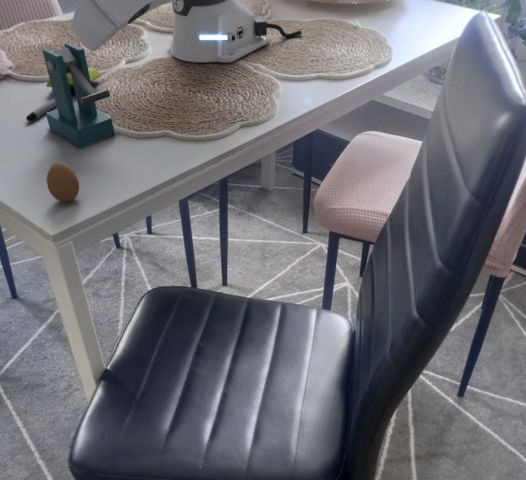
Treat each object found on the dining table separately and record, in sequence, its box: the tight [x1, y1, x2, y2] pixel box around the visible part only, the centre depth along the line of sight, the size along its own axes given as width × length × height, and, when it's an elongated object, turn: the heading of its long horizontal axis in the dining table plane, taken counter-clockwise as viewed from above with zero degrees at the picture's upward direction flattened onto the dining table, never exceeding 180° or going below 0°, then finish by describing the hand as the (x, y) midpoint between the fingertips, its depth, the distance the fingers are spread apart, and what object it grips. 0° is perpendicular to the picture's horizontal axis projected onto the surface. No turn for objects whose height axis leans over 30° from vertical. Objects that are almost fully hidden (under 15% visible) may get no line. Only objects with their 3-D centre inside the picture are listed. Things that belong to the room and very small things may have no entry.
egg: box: [46, 161, 80, 203], centre depth 87 cm, size 4×4×6 cm
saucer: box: [45, 66, 102, 88], centre depth 118 cm, size 9×9×2 cm
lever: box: [54, 47, 111, 106], centre depth 96 cm, size 10×5×2 cm, turn 46°
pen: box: [25, 86, 76, 122], centre depth 113 cm, size 1×16×1 cm, turn 158°
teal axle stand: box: [42, 41, 116, 149], centre depth 100 cm, size 10×7×14 cm
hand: (125, 15), depth 82 cm, fingers open, 8 cm apart
